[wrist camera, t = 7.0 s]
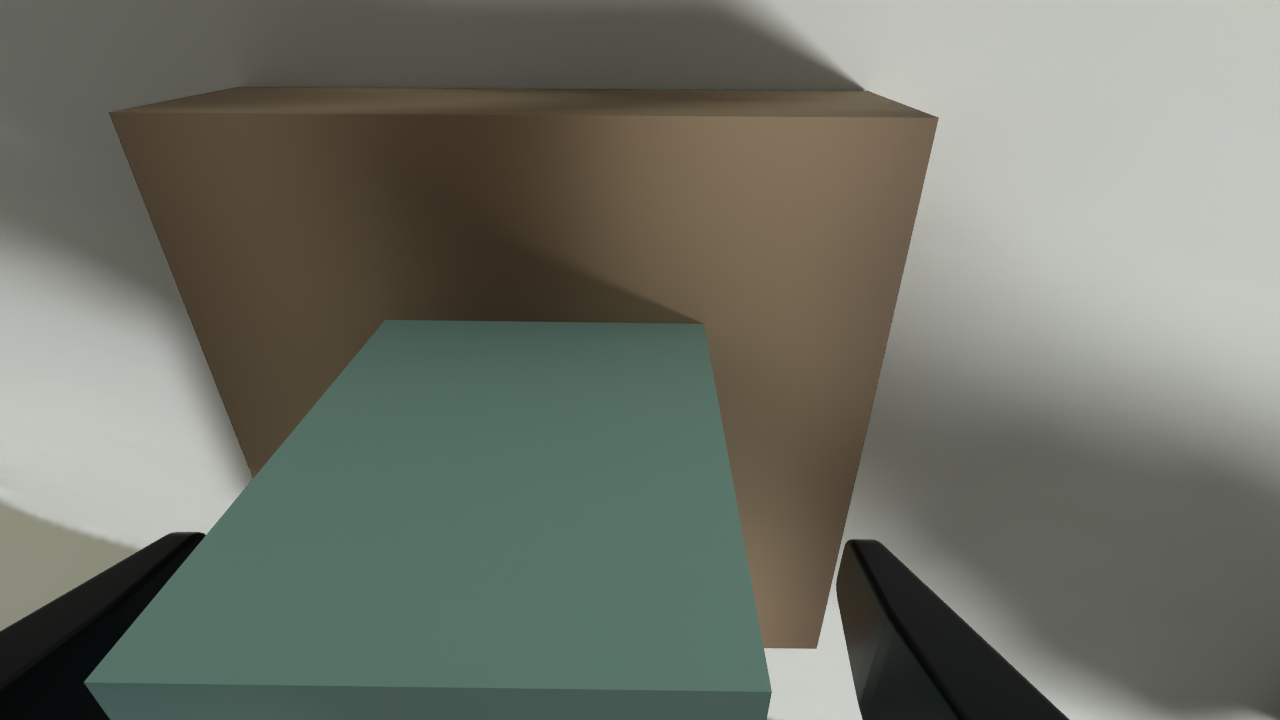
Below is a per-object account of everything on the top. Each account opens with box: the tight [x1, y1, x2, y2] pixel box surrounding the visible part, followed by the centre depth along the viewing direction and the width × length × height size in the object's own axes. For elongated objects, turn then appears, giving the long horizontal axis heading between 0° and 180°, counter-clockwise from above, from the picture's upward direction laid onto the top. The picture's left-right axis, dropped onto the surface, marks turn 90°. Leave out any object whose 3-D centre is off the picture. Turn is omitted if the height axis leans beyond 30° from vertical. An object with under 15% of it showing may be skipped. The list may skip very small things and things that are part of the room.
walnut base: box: [109, 87, 938, 649], centre depth 12 cm, size 11×11×3 cm
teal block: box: [84, 320, 772, 720], centre depth 8 cm, size 5×5×6 cm
